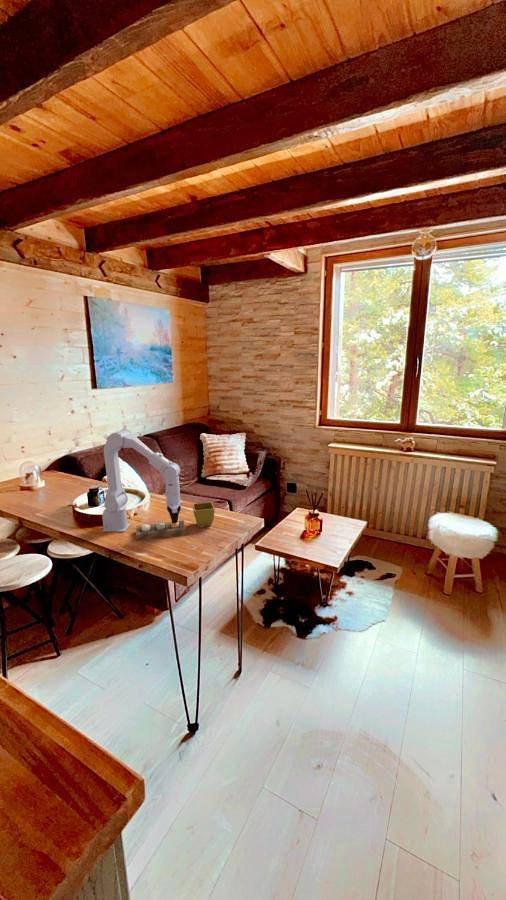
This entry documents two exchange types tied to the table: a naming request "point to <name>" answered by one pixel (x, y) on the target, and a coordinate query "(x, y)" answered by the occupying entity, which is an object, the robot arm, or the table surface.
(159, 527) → the sage button
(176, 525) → the orange button
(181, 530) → the button board
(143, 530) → the cream button
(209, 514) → the flower pot
